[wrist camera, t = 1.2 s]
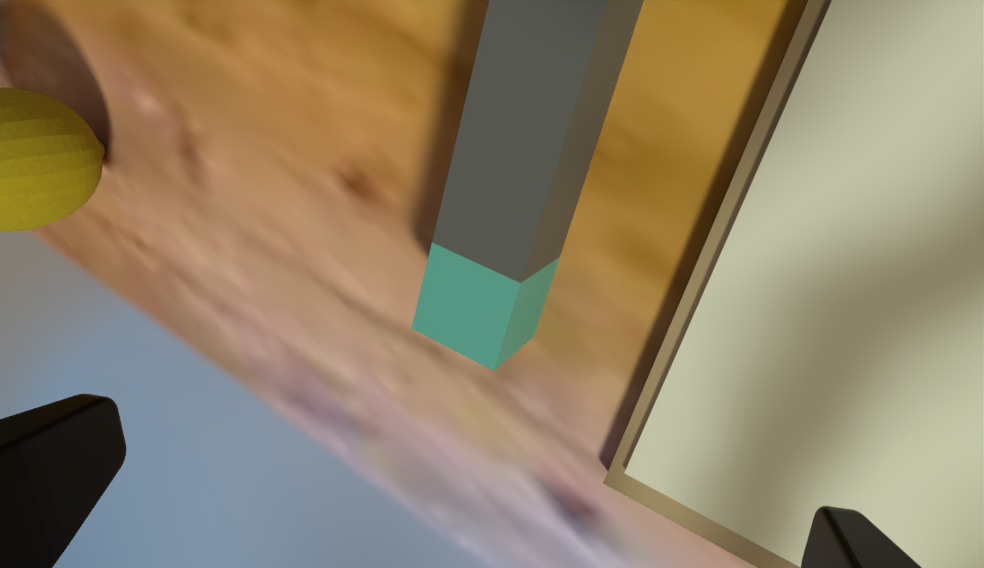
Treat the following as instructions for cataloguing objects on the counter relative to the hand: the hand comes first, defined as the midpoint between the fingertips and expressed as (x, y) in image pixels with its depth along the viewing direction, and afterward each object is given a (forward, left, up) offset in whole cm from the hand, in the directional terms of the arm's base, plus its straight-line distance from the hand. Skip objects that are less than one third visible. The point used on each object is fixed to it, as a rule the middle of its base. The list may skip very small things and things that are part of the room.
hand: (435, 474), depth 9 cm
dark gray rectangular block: (+5, -1, -13) cm, 14 cm away
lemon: (+25, +6, -13) cm, 29 cm away
